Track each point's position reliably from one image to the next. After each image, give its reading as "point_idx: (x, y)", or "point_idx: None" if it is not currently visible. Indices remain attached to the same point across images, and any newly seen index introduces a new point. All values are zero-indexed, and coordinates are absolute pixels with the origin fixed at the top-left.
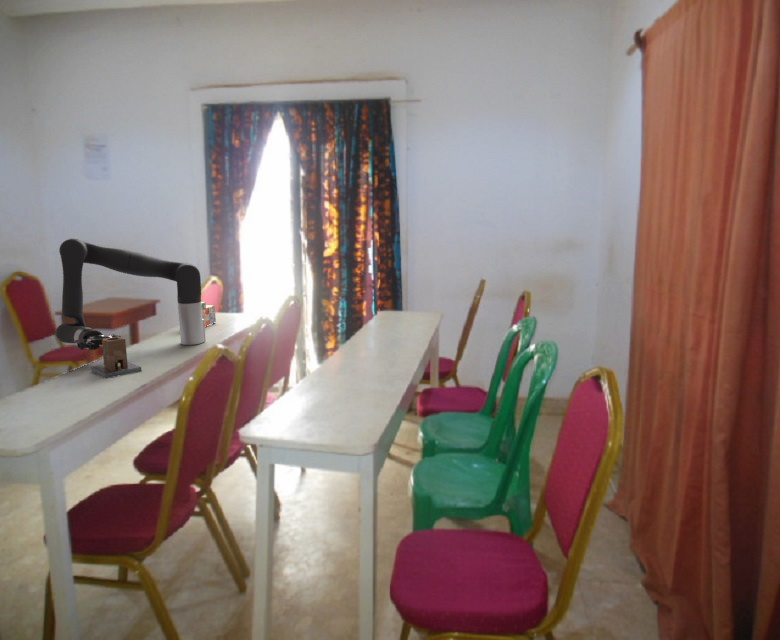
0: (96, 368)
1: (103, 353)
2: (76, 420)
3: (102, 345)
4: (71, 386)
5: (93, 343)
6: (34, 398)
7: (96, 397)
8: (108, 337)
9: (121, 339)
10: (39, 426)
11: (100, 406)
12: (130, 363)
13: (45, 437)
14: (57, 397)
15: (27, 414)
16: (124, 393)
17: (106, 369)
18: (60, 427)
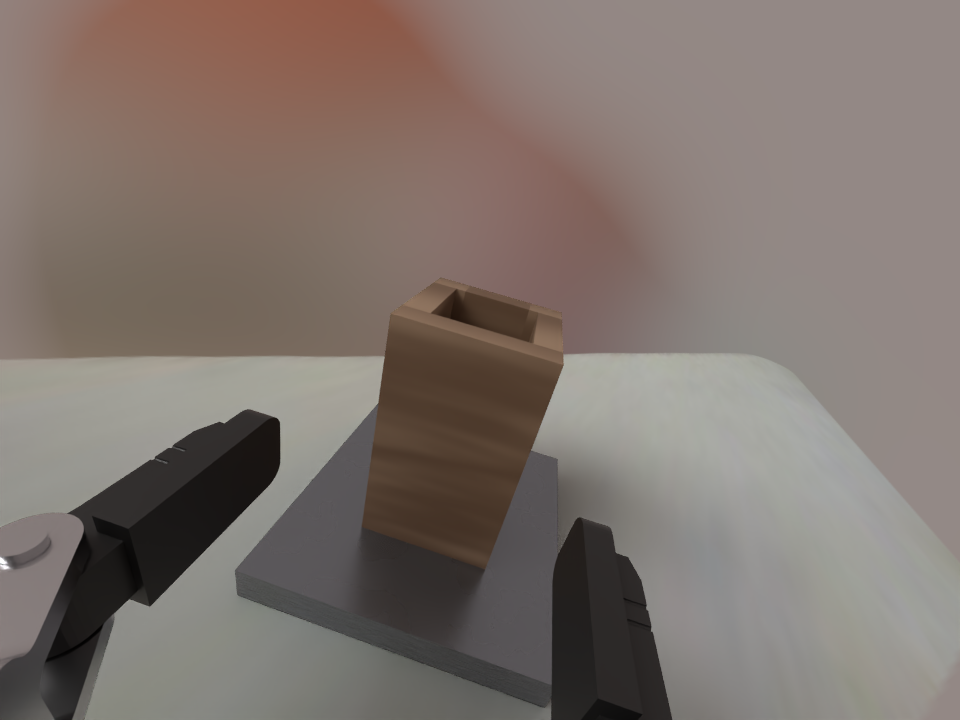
0: (538, 604)
1: (519, 476)
2: (696, 356)
3: (542, 419)
4: (713, 515)
5: (595, 527)
6: (845, 515)
7: (644, 386)
8: (5, 695)
9: (467, 286)
10: (760, 380)
11: (648, 358)
12: (319, 484)
13: (740, 356)
14: (754, 460)
15: (809, 430)
16: (578, 358)
17: (508, 513)
18: (722, 359)
